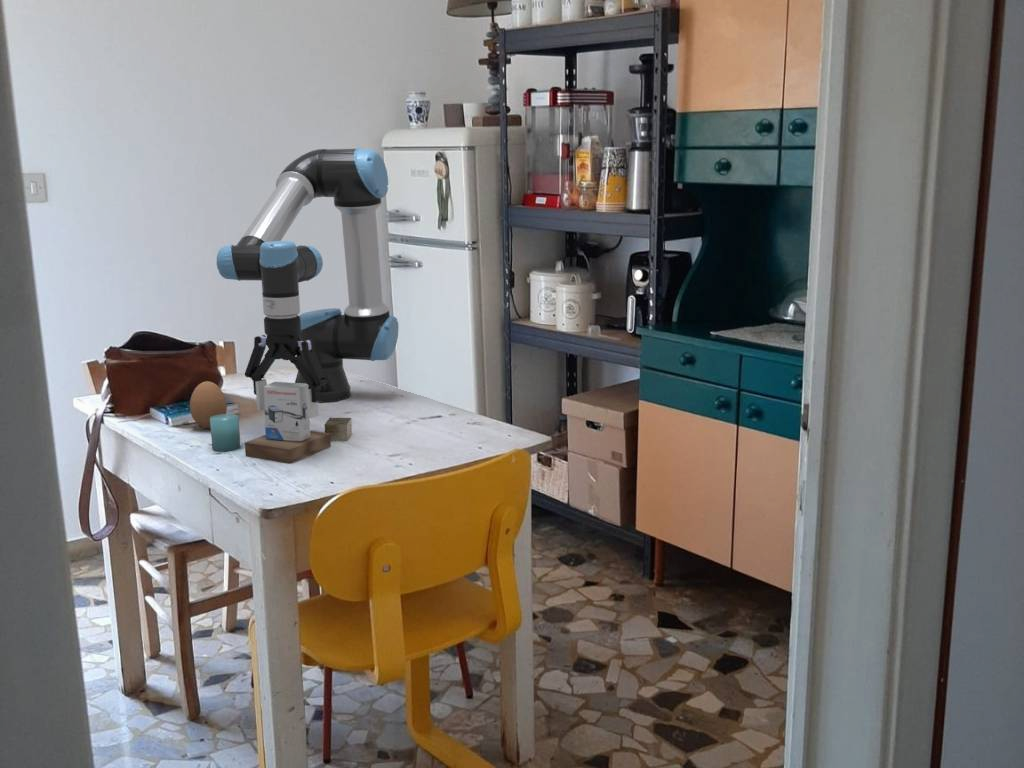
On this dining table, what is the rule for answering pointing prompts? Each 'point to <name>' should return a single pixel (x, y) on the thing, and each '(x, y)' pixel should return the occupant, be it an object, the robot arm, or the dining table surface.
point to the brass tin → (339, 428)
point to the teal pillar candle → (225, 432)
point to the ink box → (286, 411)
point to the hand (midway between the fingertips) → (287, 413)
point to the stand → (287, 447)
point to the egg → (207, 403)
